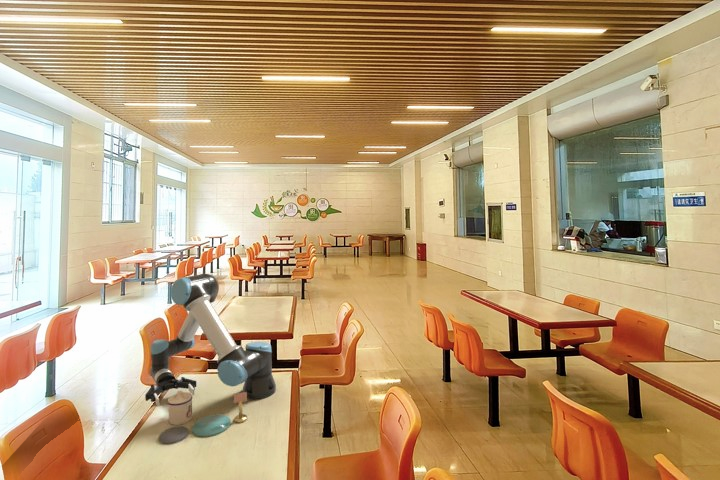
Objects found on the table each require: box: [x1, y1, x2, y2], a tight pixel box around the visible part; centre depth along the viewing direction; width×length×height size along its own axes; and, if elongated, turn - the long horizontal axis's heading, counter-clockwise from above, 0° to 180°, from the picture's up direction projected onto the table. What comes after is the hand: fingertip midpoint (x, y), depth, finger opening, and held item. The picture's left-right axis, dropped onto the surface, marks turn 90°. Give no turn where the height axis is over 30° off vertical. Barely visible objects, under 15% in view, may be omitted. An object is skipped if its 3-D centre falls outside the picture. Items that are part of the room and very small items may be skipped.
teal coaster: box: [191, 414, 231, 438], centre depth 143 cm, size 14×14×1 cm
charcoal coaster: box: [158, 425, 190, 445], centre depth 137 cm, size 10×10×1 cm
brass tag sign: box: [233, 391, 248, 424], centre depth 148 cm, size 5×5×11 cm
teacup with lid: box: [167, 390, 193, 426], centre depth 149 cm, size 12×9×12 cm
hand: (176, 397), depth 153 cm, fingers open, 13 cm apart
